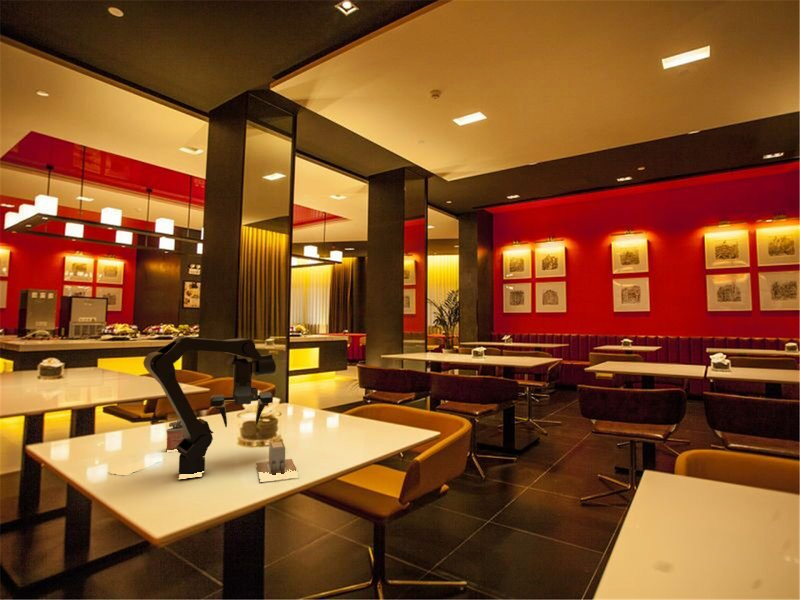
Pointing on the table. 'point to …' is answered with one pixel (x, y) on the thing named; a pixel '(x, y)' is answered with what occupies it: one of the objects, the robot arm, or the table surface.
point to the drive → (276, 454)
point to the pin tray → (284, 467)
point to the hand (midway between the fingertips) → (241, 425)
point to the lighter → (174, 435)
